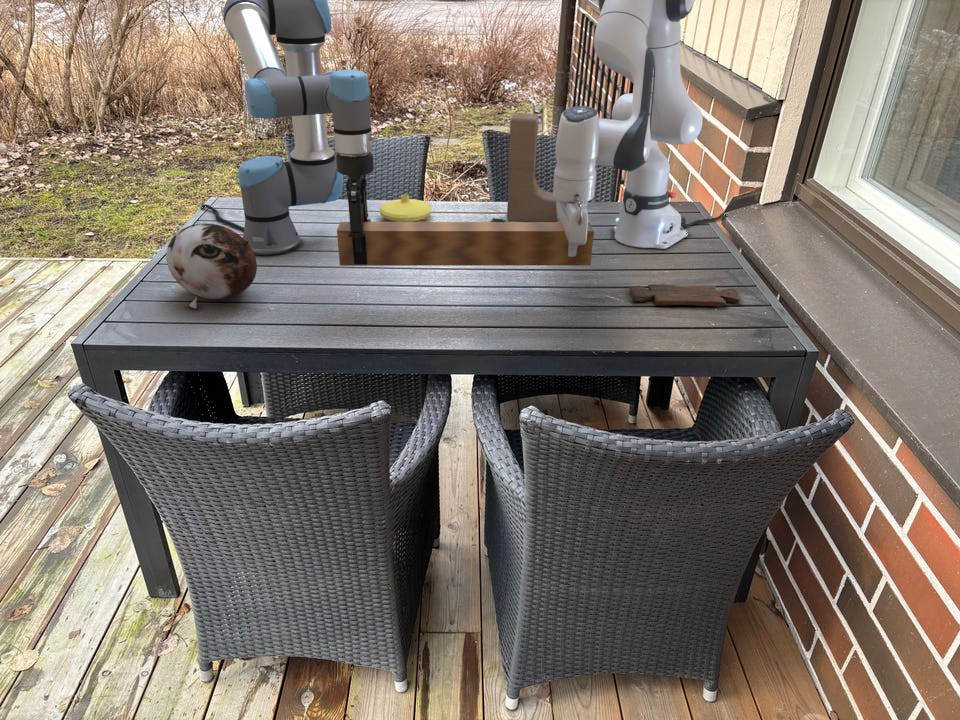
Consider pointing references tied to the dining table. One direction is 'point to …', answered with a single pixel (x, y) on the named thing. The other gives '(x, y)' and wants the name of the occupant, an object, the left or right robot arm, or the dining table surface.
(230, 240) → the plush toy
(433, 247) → the bar
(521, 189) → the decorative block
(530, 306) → the dining table surface
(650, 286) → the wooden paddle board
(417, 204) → the yellow knobbed lid
